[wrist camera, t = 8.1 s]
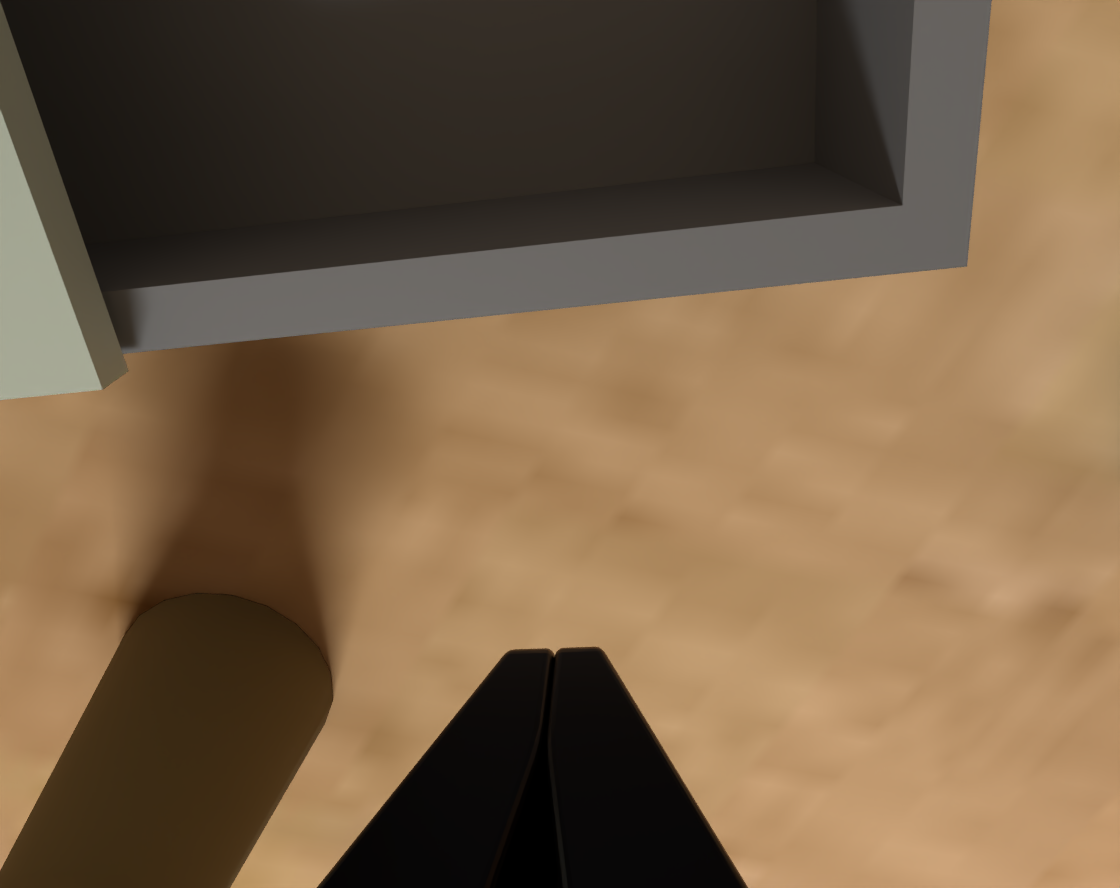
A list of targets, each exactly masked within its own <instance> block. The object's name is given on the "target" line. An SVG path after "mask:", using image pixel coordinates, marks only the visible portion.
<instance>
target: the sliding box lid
mask: <svg viewBox="0 0 1120 888" xmlns="http://www.w3.org/2000/svg"><path fill="white" fill-rule="evenodd" d="M126 372H128V368H127V365H126V362H125V359H124V357H123V354H122V351H121V348H120V345H119V342H118V339H117V336H116V333H115V331H114V328H113V325H112V322H111V319H110V316H109V313H108V310H107V308H106V305H105V302H104V299H103V296H102V293H101V290H100V287H99V284H98V282H97V279H96V276H95V273H94V270H93V267H92V264H91V261H90V259H89V256H88V253H87V250H86V247H85V244H84V241H83V238H82V235H81V233H80V230H79V227H78V224H77V221H76V218H75V215H74V212H73V210H72V207H71V204H70V201H69V198H68V195H67V192H66V189H65V187H64V184H63V181H62V178H61V175H60V172H59V169H58V166H57V163H56V161H55V158H54V155H53V152H52V149H51V146H50V143H49V140H48V138H47V135H46V132H45V129H44V126H43V123H42V120H41V117H40V114H39V112H38V109H37V106H36V103H35V100H34V97H33V94H32V91H31V89H30V86H29V83H28V80H27V77H26V74H25V71H24V68H23V65H22V63H21V60H20V57H19V54H18V51H17V48H16V45H15V42H14V40H13V37H12V34H11V31H10V28H9V25H8V22H7V19H6V16H5V14H4V11H3V8H2V5H1V2H0V400H5V399H15V398H25V397H35V396H45V395H55V394H65V393H75V392H85V391H95V390H103V389H104V388H106V387H107V386H108V385H110V384H111V383H113V382H114V381H115V380H117V379H118V378H119V377H121V376H122V375H124V374H125V373H126Z"/></svg>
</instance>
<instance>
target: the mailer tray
mask: <svg viewBox="0 0 1120 888" xmlns="http://www.w3.org/2000/svg"><path fill="white" fill-rule="evenodd" d="M991 1H992V0H0V2H1V5H2V8H3V11H4V14H5V16H6V19H7V22H8V25H9V28H10V31H11V34H12V37H13V40H14V42H15V45H16V48H17V51H18V54H19V57H20V60H21V63H22V65H23V68H24V71H25V74H26V77H27V80H28V83H29V86H30V89H31V91H32V94H33V97H34V100H35V103H36V106H37V109H38V112H39V114H40V117H41V120H42V123H43V126H44V129H45V132H46V135H47V138H48V140H49V143H50V146H51V149H52V152H53V155H54V158H55V161H56V163H57V166H58V169H59V172H60V175H61V178H62V181H63V184H64V187H65V189H66V192H67V195H68V198H69V201H70V204H71V207H72V210H73V212H74V215H75V218H76V221H77V224H78V227H79V230H80V233H81V235H82V238H83V241H84V244H85V247H86V250H87V253H88V256H89V259H90V261H91V264H92V267H93V270H94V273H95V276H96V279H97V282H98V284H99V287H100V290H101V293H102V296H103V299H104V302H105V305H106V308H107V310H108V313H109V316H110V319H111V322H112V325H113V328H114V331H115V333H116V336H117V339H118V342H119V345H120V348H121V351H122V354H125V353H135V352H144V351H154V350H164V349H173V348H183V347H193V346H202V345H212V344H222V343H231V342H241V341H251V340H260V339H270V338H280V337H289V336H299V335H309V334H318V333H328V332H338V331H347V330H357V329H367V328H376V327H386V326H396V325H405V324H415V323H425V322H434V321H444V320H454V319H463V318H473V317H483V316H492V315H502V314H512V313H521V312H531V311H541V310H550V309H560V308H570V307H579V306H589V305H599V304H608V303H618V302H628V301H637V300H647V299H657V298H666V297H676V296H686V295H695V294H705V293H715V292H724V291H734V290H744V289H753V288H763V287H773V286H782V285H792V284H802V283H811V282H821V281H831V280H840V279H850V278H860V277H869V276H879V275H889V274H898V273H908V272H918V271H927V270H937V269H947V268H956V267H966V266H967V260H968V250H969V239H970V228H971V217H972V206H973V196H974V185H975V174H976V163H977V152H978V141H979V131H980V120H981V109H982V98H983V87H984V77H985V66H986V55H987V44H988V33H989V22H990V12H991Z"/></svg>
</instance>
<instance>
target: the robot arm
mask: <svg viewBox="0 0 1120 888" xmlns="http://www.w3.org/2000/svg"><path fill="white" fill-rule="evenodd" d="M317 888H748V887H747V885H746V884H745V882H744V880H743V879H742V877H741V875H740V874H739V872H738V870H737V869H736V867H735V866H734V864H733V862H732V861H731V859H730V857H729V856H728V854H727V852H726V851H725V849H724V847H723V846H722V844H721V843H720V841H719V839H718V838H717V836H716V834H715V833H714V831H713V829H712V828H711V826H710V824H709V823H708V821H707V820H706V818H705V816H704V815H703V813H702V811H701V810H700V808H699V806H698V805H697V803H696V801H695V800H694V798H693V797H692V795H691V793H690V792H689V790H688V788H687V787H686V785H685V783H684V782H683V780H682V778H681V777H680V775H679V774H678V772H677V770H676V769H675V767H674V765H673V764H672V762H671V760H670V759H669V757H668V755H667V754H666V752H665V751H664V749H663V747H662V746H661V744H660V742H659V741H658V739H657V737H656V736H655V734H654V732H653V731H652V729H651V728H650V726H649V724H648V723H647V721H646V719H645V718H644V716H643V714H642V713H641V711H640V709H639V708H638V706H637V705H636V703H635V701H634V700H633V698H632V696H631V695H630V693H629V691H628V690H627V688H626V686H625V685H624V683H623V682H622V680H621V678H620V677H619V675H618V673H617V672H616V670H615V668H614V667H613V665H612V663H611V662H610V660H609V659H608V657H607V655H606V654H605V652H604V651H603V650H602V649H600V648H599V647H575V648H561V649H559V650H558V651H557V652H556V654H555V655H554V653H553V652H552V651H551V650H550V649H546V648H545V649H515V650H510V651H508V652H507V653H505V654H504V656H503V657H502V658H501V659H500V661H499V662H498V663H497V664H496V665H495V667H494V668H493V669H492V670H491V672H490V673H489V674H488V675H487V677H486V678H485V679H484V680H483V682H482V683H481V684H480V685H479V687H478V688H477V689H476V690H475V692H474V693H473V694H472V695H471V697H470V698H469V699H468V700H467V702H466V703H465V704H464V705H463V707H462V708H461V709H460V710H459V712H458V713H457V714H456V715H455V716H454V718H453V719H452V720H451V721H450V723H449V724H448V725H447V726H446V728H445V729H444V730H443V731H442V733H441V734H440V735H439V736H438V738H437V739H436V740H435V741H434V743H433V744H432V745H431V746H430V748H429V749H428V750H427V751H426V753H425V754H424V755H423V756H422V758H421V759H420V760H419V761H418V763H417V764H416V765H415V766H414V768H413V769H412V770H411V771H410V772H409V774H408V775H407V776H406V777H405V779H404V780H403V781H402V782H401V784H400V785H399V786H398V787H397V789H396V790H395V791H394V792H393V794H392V795H391V796H390V797H389V799H388V800H387V801H386V802H385V804H384V805H383V806H382V807H381V809H380V810H379V811H378V812H377V814H376V815H375V816H374V817H373V819H372V820H371V821H370V822H369V823H368V825H367V826H366V827H365V828H364V830H363V831H362V832H361V833H360V835H359V836H358V837H357V838H356V840H355V841H354V842H353V843H352V845H351V846H350V847H349V848H348V850H347V851H346V852H345V853H344V855H343V856H342V857H341V858H340V860H339V861H338V862H337V863H336V865H335V866H334V867H333V868H332V870H331V871H330V872H329V873H328V875H327V876H326V877H325V878H324V879H323V881H322V882H321V883H320V884H319V886H318V887H317Z"/></svg>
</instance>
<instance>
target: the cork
mask: <svg viewBox="0 0 1120 888" xmlns="http://www.w3.org/2000/svg"><path fill="white" fill-rule="evenodd" d="M332 702H333V694H332V681H331V673H330V671H329V669H328V667H327V665H326V663H325V661H324V659H323V656H322V654H321V652H320V650H319V648H318V647H317V646H316V645H315V644H314V643H313V642H312V641H311V640H310V639H309V637H308V636H307V635H306V634H305V633H304V632H303V631H302V630H301V629H300V628H299V627H298V626H297V625H296V624H295V623H293V622H291V621H290V620H288V619H287V618H285V617H283V616H282V615H280V614H278V613H277V612H275V611H273V610H272V609H270V608H269V607H267V606H264V605H261V604H258V603H255V602H252V601H248V600H245V599H242V598H239V597H236V596H232V595H218V594H200V593H196V594H191V595H187V596H182V597H178V598H173V599H169V600H164V601H163V602H161V603H159V604H158V605H156V606H154V607H153V608H151V609H150V610H148V611H146V612H145V613H143V614H141V615H140V616H139V617H138V618H137V619H136V621H135V622H134V624H133V625H132V626H131V628H130V629H129V630H128V632H127V633H126V634H125V636H124V637H123V639H122V641H121V643H120V645H119V647H118V649H117V650H116V652H115V654H114V656H113V658H112V660H111V662H110V664H109V666H108V667H107V669H106V671H105V673H104V675H103V677H102V679H101V681H100V683H99V685H98V686H97V688H96V690H95V692H94V694H93V696H92V698H91V700H90V702H89V704H88V705H87V707H86V709H85V711H84V713H83V715H82V717H81V719H80V721H79V722H78V724H77V726H76V728H75V730H74V732H73V734H72V736H71V738H70V740H69V741H68V743H67V745H66V747H65V749H64V751H63V753H62V755H61V757H60V758H59V760H58V762H57V764H56V766H55V768H54V770H53V772H52V774H51V776H50V777H49V779H48V781H47V783H46V785H45V787H44V789H43V791H42V793H41V795H40V796H39V798H38V800H37V802H36V804H35V806H34V808H33V810H32V812H31V813H30V815H29V817H28V819H27V821H26V823H25V825H24V827H23V829H22V831H21V832H20V834H19V836H18V838H17V840H16V842H15V844H14V846H13V848H12V849H11V851H10V853H9V855H8V857H7V859H6V861H5V863H4V865H3V867H2V868H1V870H0V888H230V887H231V885H232V883H233V882H234V880H235V878H236V876H237V875H238V873H239V871H240V870H241V868H242V866H243V864H244V863H245V861H246V859H247V857H248V856H249V854H250V852H251V851H252V849H253V847H254V845H255V844H256V842H257V840H258V838H259V837H260V835H261V833H262V831H263V830H264V828H265V826H266V825H267V823H268V821H269V819H270V818H271V816H272V814H273V812H274V811H275V809H276V807H277V806H278V804H279V802H280V800H281V799H282V797H283V795H284V793H285V792H286V790H287V788H288V787H289V785H290V783H291V781H292V780H293V778H294V776H295V774H296V773H297V771H298V769H299V767H300V766H301V764H302V762H303V761H304V759H305V757H306V755H307V754H308V752H309V750H310V748H311V747H312V745H313V743H314V742H315V740H316V738H317V736H318V735H319V733H320V731H321V729H322V728H323V726H324V724H325V722H326V719H327V716H328V713H329V710H330V707H331V705H332Z"/></svg>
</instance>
